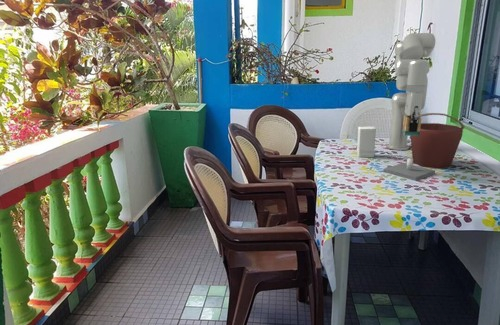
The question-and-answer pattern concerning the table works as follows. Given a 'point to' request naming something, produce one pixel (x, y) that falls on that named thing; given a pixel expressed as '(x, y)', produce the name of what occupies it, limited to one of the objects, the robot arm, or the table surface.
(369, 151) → the skincare box
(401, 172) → the pin board
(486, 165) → the table surface
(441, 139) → the bucket
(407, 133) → the wooden sleeve
